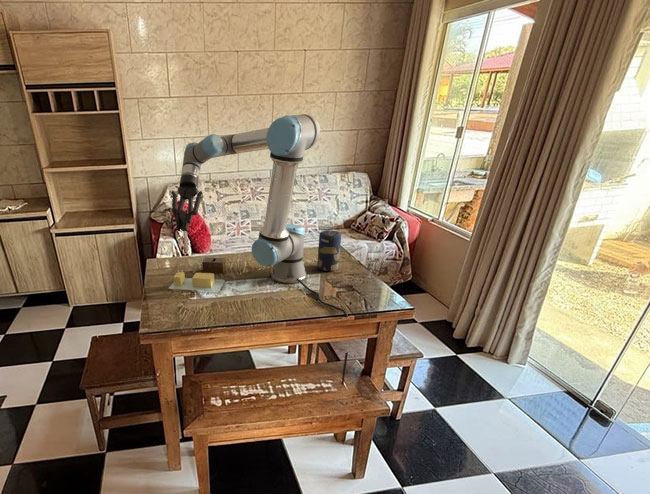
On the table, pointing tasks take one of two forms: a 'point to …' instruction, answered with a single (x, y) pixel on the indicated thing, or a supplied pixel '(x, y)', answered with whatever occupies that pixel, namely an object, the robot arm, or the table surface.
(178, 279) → the butter pat
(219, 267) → the knife block
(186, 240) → the knife
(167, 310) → the table surface
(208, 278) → the butter block
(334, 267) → the canister
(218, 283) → the butter dish
